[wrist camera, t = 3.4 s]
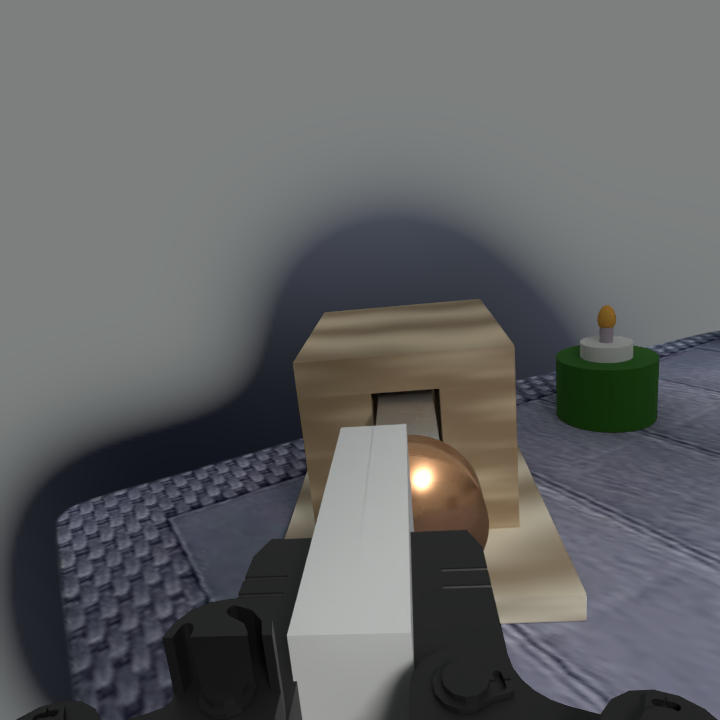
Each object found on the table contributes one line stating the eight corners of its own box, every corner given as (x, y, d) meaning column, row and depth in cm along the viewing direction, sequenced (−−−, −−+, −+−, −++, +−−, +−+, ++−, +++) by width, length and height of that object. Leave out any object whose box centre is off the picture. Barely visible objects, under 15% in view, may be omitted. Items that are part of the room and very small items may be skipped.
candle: (562, 396, 57) (561, 296, 55) (655, 401, 54) (659, 294, 51) (551, 428, 50) (549, 316, 48) (658, 436, 47) (663, 315, 44)
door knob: (364, 439, 38) (355, 352, 37) (456, 433, 38) (450, 344, 36) (341, 595, 23) (324, 461, 22) (492, 589, 23) (485, 451, 21)
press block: (320, 454, 50) (301, 312, 46) (509, 442, 48) (504, 294, 45) (265, 631, 30) (226, 403, 26) (586, 620, 28) (587, 377, 25)
